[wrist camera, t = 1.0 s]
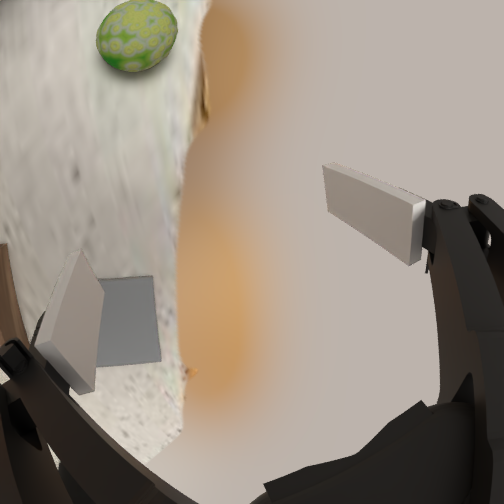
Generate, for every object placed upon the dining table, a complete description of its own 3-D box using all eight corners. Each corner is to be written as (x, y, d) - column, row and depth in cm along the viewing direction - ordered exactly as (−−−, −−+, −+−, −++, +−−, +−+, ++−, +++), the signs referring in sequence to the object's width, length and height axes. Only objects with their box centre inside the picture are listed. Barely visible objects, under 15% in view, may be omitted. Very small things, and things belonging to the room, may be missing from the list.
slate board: (77, 365, 38) (76, 368, 37) (57, 282, 34) (56, 284, 34) (160, 358, 43) (161, 361, 43) (152, 275, 40) (152, 277, 39)
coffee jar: (53, 468, 40) (54, 533, 24) (66, 448, 40) (68, 521, 24) (94, 484, 45) (103, 546, 29) (111, 466, 45) (123, 534, 29)
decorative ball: (173, 21, 31) (187, -15, 22) (168, 80, 34) (180, 54, 25) (104, 22, 27) (101, -15, 18) (95, 84, 30) (86, 57, 21)
